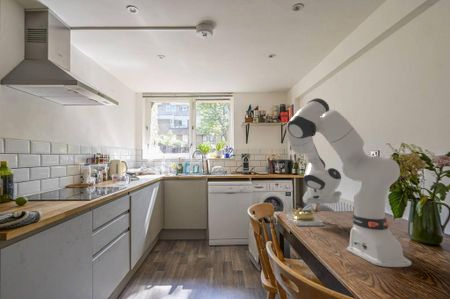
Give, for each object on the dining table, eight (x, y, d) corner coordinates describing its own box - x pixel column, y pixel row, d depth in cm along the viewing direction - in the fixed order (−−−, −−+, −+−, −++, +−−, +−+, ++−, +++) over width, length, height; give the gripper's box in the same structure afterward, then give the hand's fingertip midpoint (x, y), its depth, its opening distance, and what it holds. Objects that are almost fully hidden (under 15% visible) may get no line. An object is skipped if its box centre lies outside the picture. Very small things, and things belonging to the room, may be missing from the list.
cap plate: (323, 225, 134) (323, 221, 135) (296, 225, 134) (296, 222, 134) (309, 216, 154) (309, 213, 155) (286, 216, 154) (286, 213, 154)
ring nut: (323, 219, 139) (322, 194, 139) (297, 219, 138) (297, 195, 138) (313, 214, 151) (313, 191, 151) (290, 214, 150) (290, 191, 150)
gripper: (340, 187, 137) (332, 201, 146) (305, 187, 135) (299, 201, 145) (345, 196, 132) (336, 210, 142) (308, 196, 131) (302, 210, 140)
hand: (317, 205), depth 143 cm, fingers closed, pressing on ring nut
